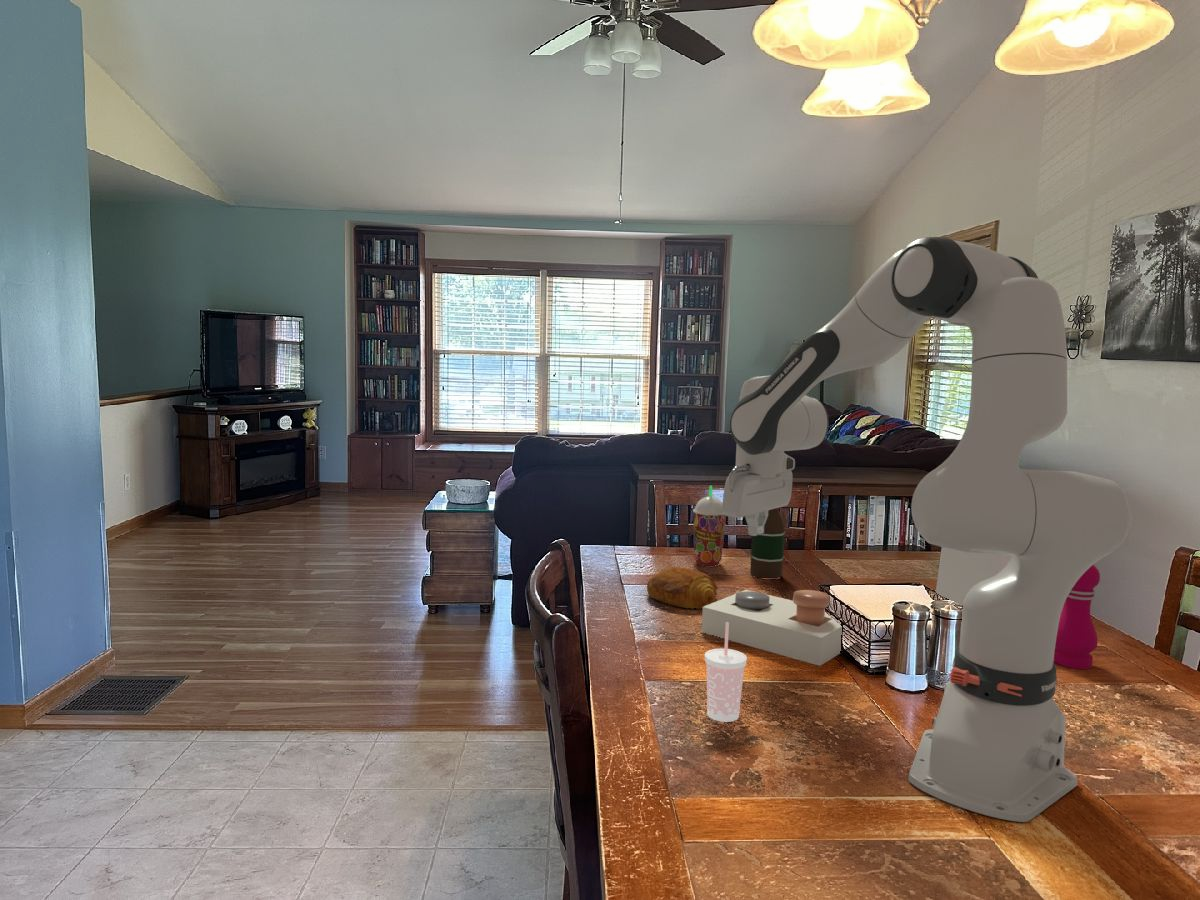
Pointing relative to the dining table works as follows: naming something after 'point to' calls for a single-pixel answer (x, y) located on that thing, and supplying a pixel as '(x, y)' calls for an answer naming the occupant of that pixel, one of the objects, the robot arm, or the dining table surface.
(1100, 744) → the dining table surface
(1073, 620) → the pepper mill
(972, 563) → the milk
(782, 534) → the beer bottle
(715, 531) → the smoothie
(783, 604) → the button panel
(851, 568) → the dining table surface
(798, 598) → the terracotta button
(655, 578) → the croissant
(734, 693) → the beverage cup
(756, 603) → the graphite button
